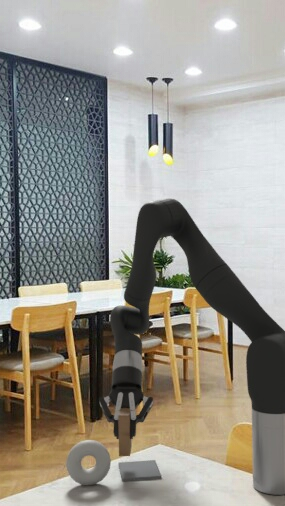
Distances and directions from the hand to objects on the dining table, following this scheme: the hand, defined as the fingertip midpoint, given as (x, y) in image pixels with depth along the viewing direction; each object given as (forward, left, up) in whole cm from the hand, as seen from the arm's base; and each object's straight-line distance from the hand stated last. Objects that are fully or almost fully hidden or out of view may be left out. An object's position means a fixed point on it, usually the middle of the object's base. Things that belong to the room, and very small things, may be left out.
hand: (124, 437), depth 140 cm
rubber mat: (-3, -2, -9) cm, 10 cm away
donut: (+9, +4, -9) cm, 13 cm away
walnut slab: (0, -2, -4) cm, 5 cm away
